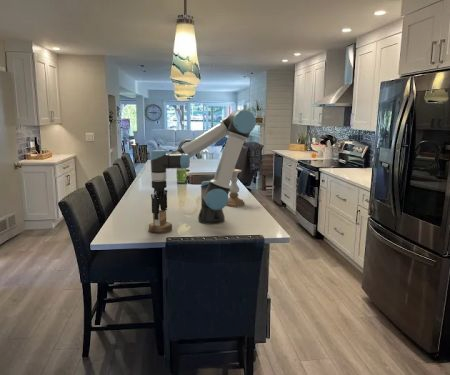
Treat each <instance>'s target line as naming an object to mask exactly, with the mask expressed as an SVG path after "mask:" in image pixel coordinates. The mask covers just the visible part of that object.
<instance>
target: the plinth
mask: <svg viewBox="0 0 450 375" xmlns="http://www.w3.org/2000/svg"><path fill="white" fill-rule="evenodd" d="M166 223H167V224H165V225H163V226H155V225H153V222H150V223H149V224H148V232H149V233H151V234H158V235H159V234H167V233H170V232H172V231H173V224H172V223H171V222H168V221H166Z"/></svg>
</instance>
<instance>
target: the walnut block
mask: <svg viewBox="0 0 450 375" xmlns="http://www.w3.org/2000/svg"><path fill="white" fill-rule="evenodd" d="M159 213H160V226H163V225H165V224H167V223H166V222H167V210H165V211H163V210H161V209H159ZM152 219H153V220H152V223H153V225H155V214H154V213H152ZM155 226H156V225H155Z"/></svg>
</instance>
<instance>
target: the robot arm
mask: <svg viewBox="0 0 450 375" xmlns="http://www.w3.org/2000/svg"><path fill="white" fill-rule="evenodd" d="M256 122H257V121H256V116H255V114H254V113H253V112H251V111H250V110H248V109H237V110H234V111H233V112H232V111H231V113H229V114H228V115H226V117H224V118H222V119H221V120H220V121H219V123H218V124H217V125H215V126H213V127H212V128H210V129H209V130H207V131H205V132H203V133H202V134H201V135H199V136H197V137H196V138H194V139H192V140H191V141H189V142H188V143H186V144H184V145H183V146H181V147H180V148H178V149H176V150H173V151H172V152H171V153H167V152H166V150H165V149H154V150H151V152H150V175H151V188H152V189H153V193H152V194H150V198H151V213H152V214H153V213H154V214H155V225H156V226H160V213H159V210H163V211H167V210H168V190H167V189H166V188H167V169H188V168H190V163H191V162H190V159H191V158H193V157H194V156H196V155H197V154H199V153H201V152H202V151H204V150H205V149H207V148H208V147H210V146H212V145H214V144H215V143H217V142H219V141H220V140H221V139H224V137H226V136H227V137H228V138H227V140H226V143H225V145H224V148H223V151H222V154H221V158H220V159H219V163H218V166H217V168H216V171H215V173H214V177H213V178H212V179H210V180H204V181H201V185H200V192H201V193H200V196H201V197H200V203H201V204H200V206H201V207H200V211H199V214H198V217H197V218H198V219H197V220H198V222H200V223H201V224H205V225H206V224H207V225H208V224H209V225H212V224H213V225H215V224H222V223H224V222H225V220H226V219H225V217H226V216H225V213H224V210H223V209H224V208H226V207H227V206H226V205H227V203H228V198H229V195H230V192H229V191H230V182H231V180H230V179H231V177H232V174H233V171H234V169H236V166H237V165H236V164H238V160H239V157H240V154H241V151H242V148H243V146H244V143H245V142H246V141H247V140H249V138H250V135H251V133H252V131H253V130H254V129H255V127H256V125H257V124H256Z"/></svg>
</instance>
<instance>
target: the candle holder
mask: <svg viewBox="0 0 450 375" xmlns="http://www.w3.org/2000/svg"><path fill="white" fill-rule="evenodd" d="M242 171H243V170H242V169H237V168H234V171H233V174H232V177H231V179H230V182H231V184H229V186H230V191H229V194H228V203H227V205H226V206H225V207H231V208H238V206H239V207H242V206H244V204H245V200H243V199H241V198H239V192H240V187H239V185H238V184H237V182H238V181H239V179H238V175H239V173H241V172H242ZM241 205H242V206H241ZM245 205H246V204H245Z"/></svg>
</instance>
